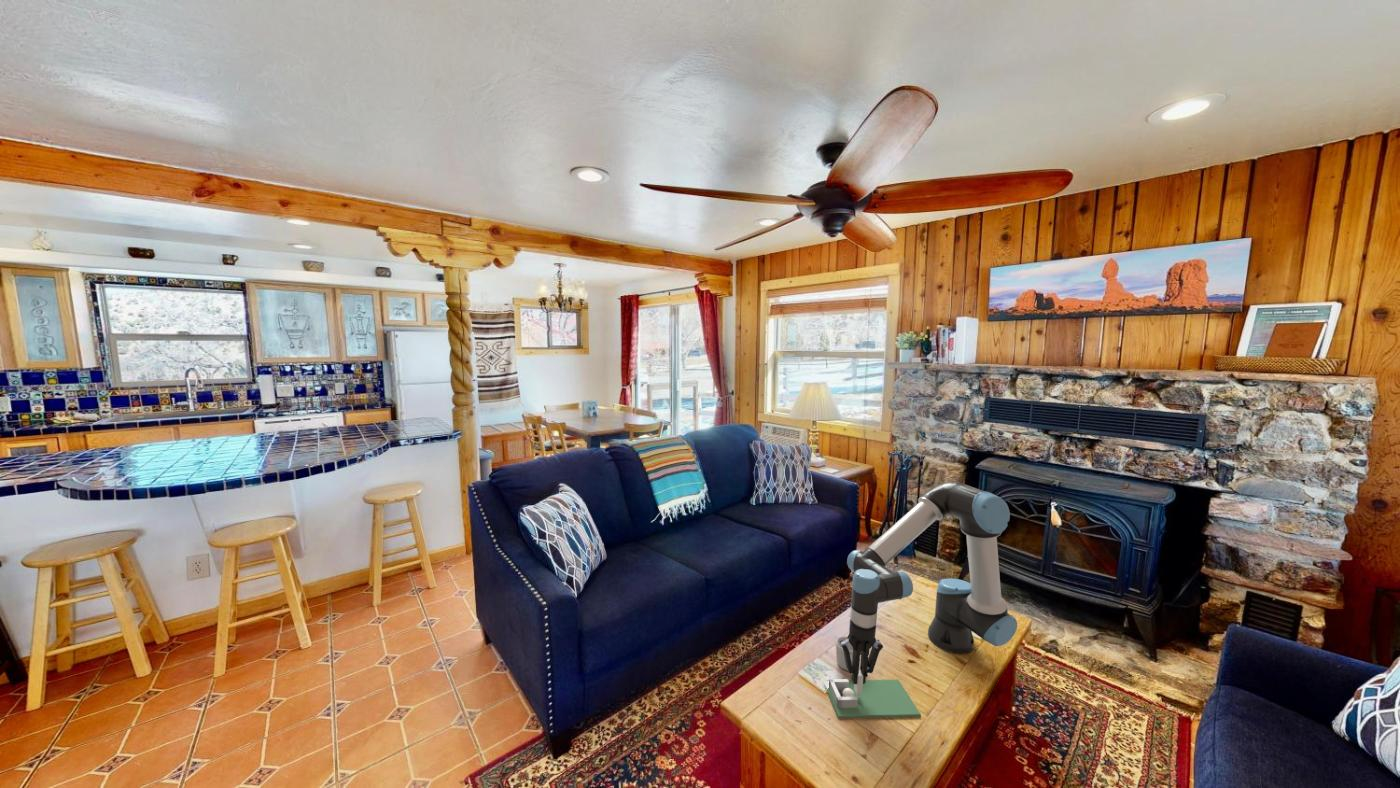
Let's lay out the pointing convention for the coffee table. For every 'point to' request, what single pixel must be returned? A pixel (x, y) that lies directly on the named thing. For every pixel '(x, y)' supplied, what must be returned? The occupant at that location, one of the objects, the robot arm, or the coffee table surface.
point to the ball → (848, 692)
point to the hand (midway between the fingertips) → (857, 692)
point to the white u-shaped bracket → (835, 687)
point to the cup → (842, 653)
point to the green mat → (879, 701)
